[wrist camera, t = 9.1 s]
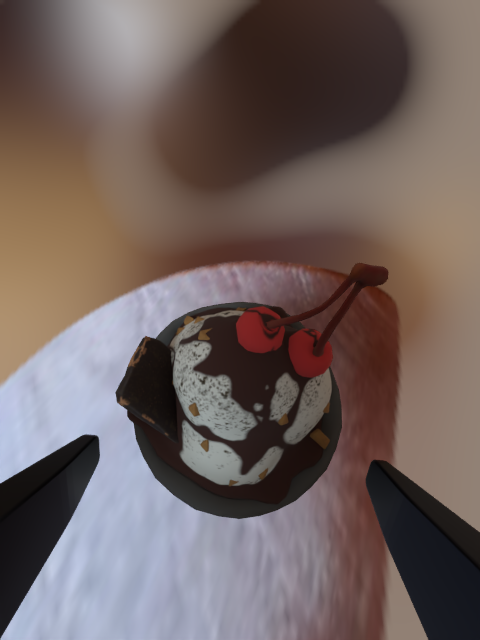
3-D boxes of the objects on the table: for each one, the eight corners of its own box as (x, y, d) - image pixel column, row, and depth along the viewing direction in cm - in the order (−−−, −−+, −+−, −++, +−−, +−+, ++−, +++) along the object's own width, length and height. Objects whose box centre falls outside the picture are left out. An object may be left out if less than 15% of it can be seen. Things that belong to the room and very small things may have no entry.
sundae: (290, 405, 17) (517, 262, 4) (242, 504, 14) (521, 1017, 1) (215, 357, 19) (217, 134, 6) (156, 438, 16) (-143, 366, 3)
